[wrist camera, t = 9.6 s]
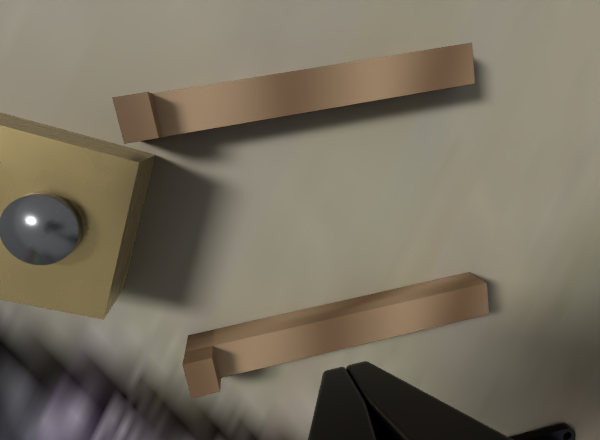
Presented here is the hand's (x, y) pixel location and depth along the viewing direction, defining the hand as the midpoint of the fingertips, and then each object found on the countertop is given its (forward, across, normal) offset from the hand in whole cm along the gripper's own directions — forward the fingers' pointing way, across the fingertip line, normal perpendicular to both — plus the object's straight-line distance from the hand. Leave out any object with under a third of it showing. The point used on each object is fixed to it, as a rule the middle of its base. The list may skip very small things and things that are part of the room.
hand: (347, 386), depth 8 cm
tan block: (+12, +9, -3) cm, 16 cm away
